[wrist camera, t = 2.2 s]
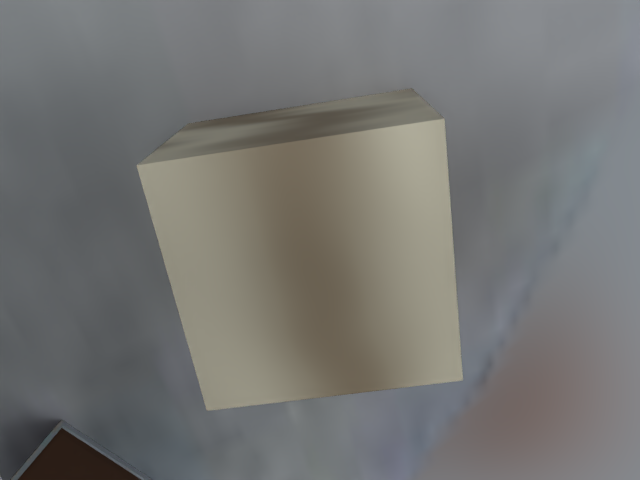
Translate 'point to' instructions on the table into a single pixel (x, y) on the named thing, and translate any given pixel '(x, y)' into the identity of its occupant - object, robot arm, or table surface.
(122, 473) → the food container
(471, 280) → the table surface
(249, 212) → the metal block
